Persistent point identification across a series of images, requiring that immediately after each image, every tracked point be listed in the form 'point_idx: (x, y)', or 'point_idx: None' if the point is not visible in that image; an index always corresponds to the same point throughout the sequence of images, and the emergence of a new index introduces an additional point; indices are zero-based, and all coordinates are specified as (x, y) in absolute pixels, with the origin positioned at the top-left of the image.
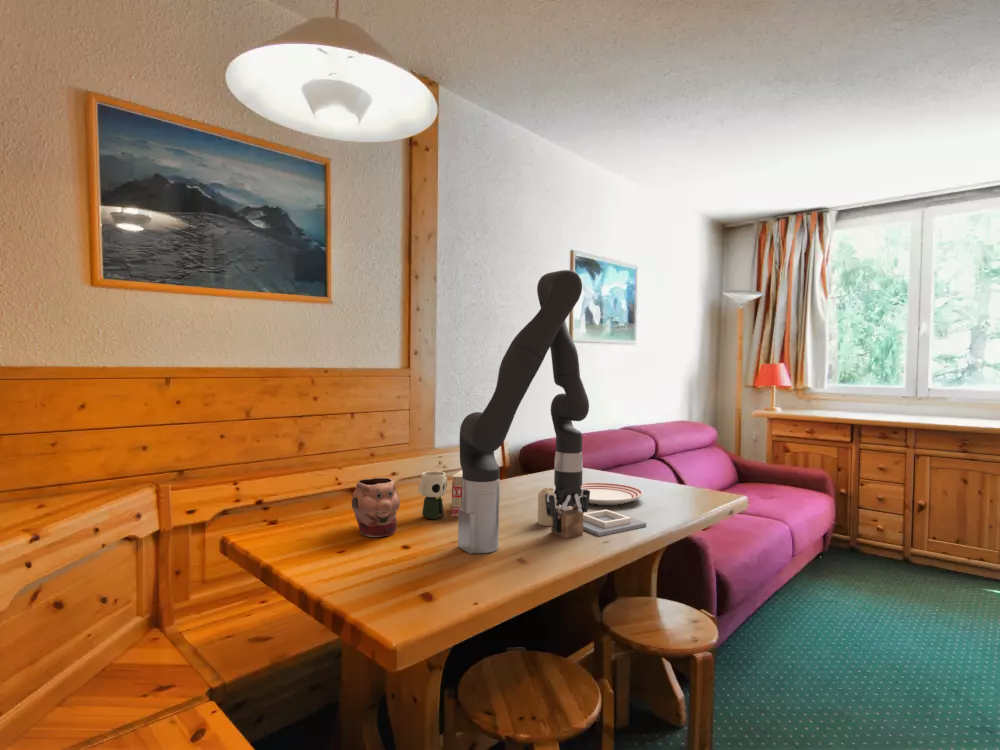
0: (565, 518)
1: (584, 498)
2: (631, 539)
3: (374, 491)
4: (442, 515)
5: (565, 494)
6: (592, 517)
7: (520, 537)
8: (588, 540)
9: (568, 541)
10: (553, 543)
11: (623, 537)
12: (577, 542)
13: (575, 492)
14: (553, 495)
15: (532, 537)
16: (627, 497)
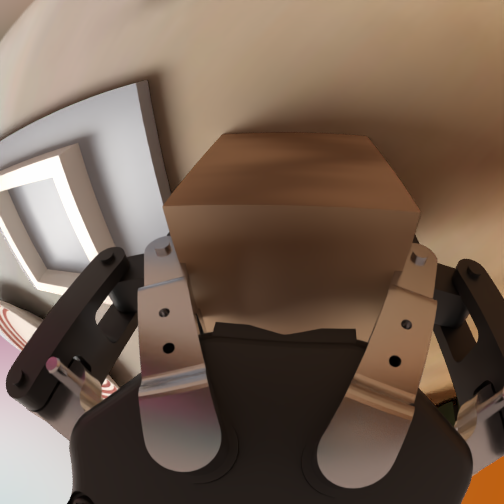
0: (409, 203)
1: (74, 350)
2: (45, 17)
3: None
4: (448, 404)
5: (370, 485)
6: (90, 252)
7: (488, 262)
8: (253, 38)
9: (386, 89)
10: (470, 123)
11: (56, 45)
12: (348, 43)
13: (164, 473)
14: (499, 450)
15: (467, 241)
16: (13, 319)
